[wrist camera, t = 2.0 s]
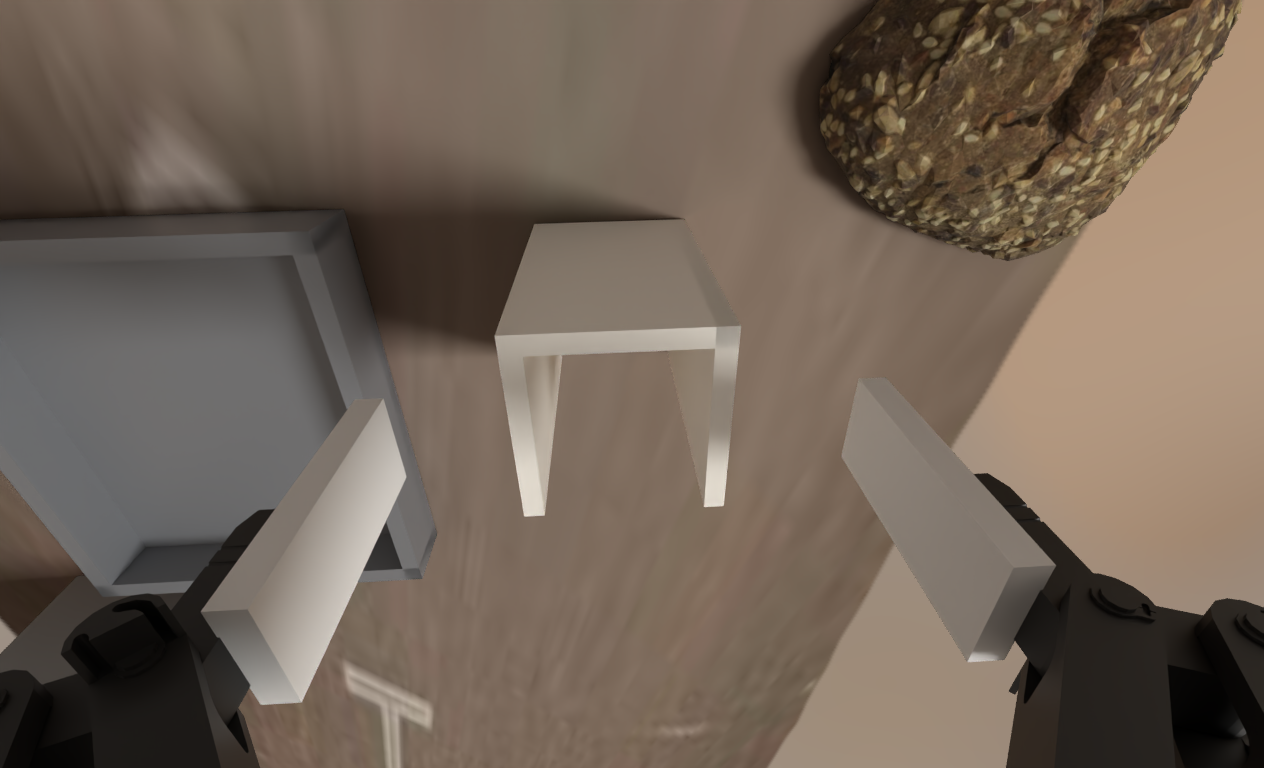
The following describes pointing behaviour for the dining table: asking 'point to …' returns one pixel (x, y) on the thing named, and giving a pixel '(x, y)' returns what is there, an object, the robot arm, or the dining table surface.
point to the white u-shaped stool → (617, 335)
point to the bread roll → (1012, 109)
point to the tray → (186, 384)
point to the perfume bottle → (59, 631)
